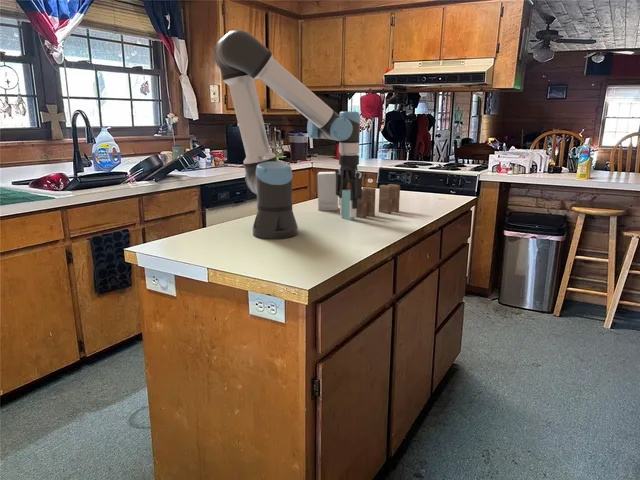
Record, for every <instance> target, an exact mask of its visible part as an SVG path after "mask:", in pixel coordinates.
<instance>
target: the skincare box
mask: <svg viewBox="0 0 640 480" xmlns="http://www.w3.org/2000/svg"><path fill="white" fill-rule="evenodd" d="M316 175H317V205H318V210H317V211H338V209H339V196H338V195H336V174H335V171H318V173H317V174H316Z"/></svg>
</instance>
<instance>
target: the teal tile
mask: <svg viewBox="0 0 640 480" xmlns="http://www.w3.org/2000/svg"><path fill="white" fill-rule="evenodd" d="M354 197H355V196H354ZM350 199H351V193H350V189H348V188H347V189H345V190H342V215H341V219H343V220H344V219H345V220H347V221H355V217H350Z"/></svg>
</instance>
